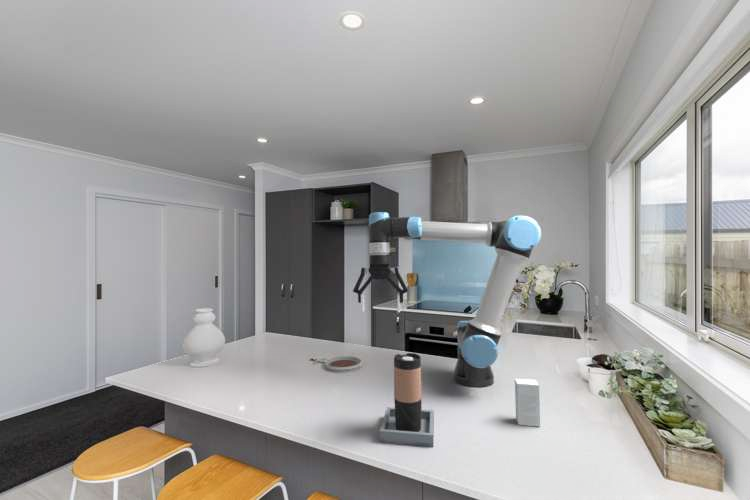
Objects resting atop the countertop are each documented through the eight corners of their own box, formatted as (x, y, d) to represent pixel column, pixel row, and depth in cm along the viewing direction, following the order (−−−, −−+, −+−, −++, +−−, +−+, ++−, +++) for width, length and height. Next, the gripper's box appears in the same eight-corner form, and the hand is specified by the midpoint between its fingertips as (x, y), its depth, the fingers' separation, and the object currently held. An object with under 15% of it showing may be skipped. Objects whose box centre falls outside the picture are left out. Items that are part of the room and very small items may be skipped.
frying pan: (320, 351, 168) (369, 358, 154) (320, 357, 168) (369, 364, 154) (297, 361, 153) (348, 369, 139) (297, 367, 153) (349, 376, 139)
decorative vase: (213, 354, 171) (212, 305, 171) (233, 361, 161) (232, 308, 161) (175, 364, 157) (175, 310, 157) (194, 372, 146) (194, 314, 146)
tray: (433, 420, 101) (433, 410, 101) (433, 447, 87) (433, 435, 87) (387, 417, 104) (387, 407, 104) (379, 442, 90) (379, 430, 90)
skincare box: (536, 420, 101) (536, 379, 101) (540, 427, 97) (539, 385, 97) (515, 418, 102) (514, 378, 102) (517, 425, 98) (516, 383, 98)
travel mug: (414, 437, 90) (413, 362, 91) (389, 430, 94) (388, 358, 95) (426, 425, 97) (425, 355, 97) (402, 418, 101) (401, 351, 101)
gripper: (344, 255, 124) (345, 313, 124) (412, 253, 120) (413, 313, 120) (349, 255, 132) (350, 309, 131) (414, 253, 127) (415, 310, 127)
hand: (380, 311), depth 126 cm, fingers open, 13 cm apart
